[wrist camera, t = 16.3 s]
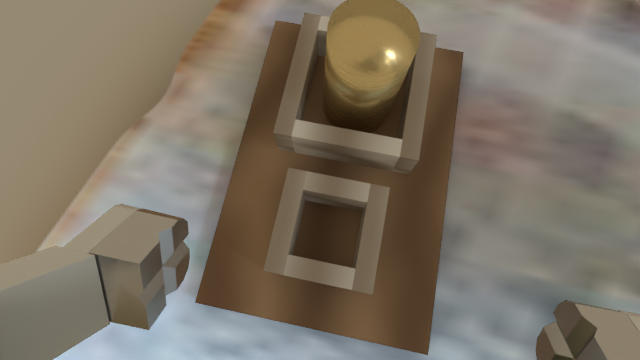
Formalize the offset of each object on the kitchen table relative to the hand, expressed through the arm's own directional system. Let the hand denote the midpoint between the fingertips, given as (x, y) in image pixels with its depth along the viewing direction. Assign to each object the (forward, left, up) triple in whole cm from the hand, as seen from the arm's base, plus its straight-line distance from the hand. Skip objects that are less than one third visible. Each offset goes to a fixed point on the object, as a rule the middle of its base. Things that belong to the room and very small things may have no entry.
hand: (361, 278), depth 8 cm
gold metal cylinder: (+1, -13, -16) cm, 21 cm away
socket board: (+1, -8, -18) cm, 19 cm away
